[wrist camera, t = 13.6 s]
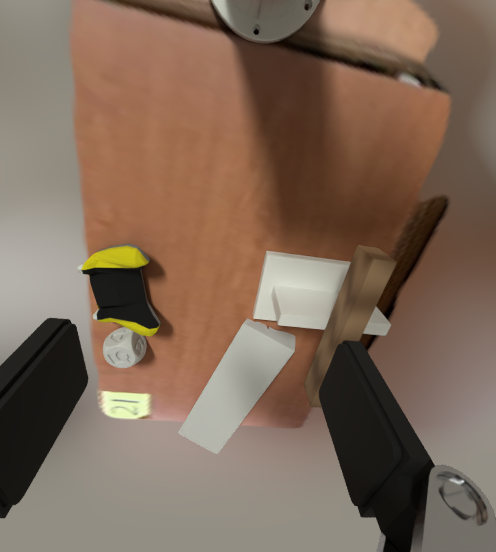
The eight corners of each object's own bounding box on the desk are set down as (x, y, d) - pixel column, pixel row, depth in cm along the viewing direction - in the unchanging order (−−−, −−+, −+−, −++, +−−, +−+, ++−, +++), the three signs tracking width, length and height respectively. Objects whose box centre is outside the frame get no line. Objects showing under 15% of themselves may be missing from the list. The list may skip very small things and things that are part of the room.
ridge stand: (266, 250, 40) (274, 279, 32) (386, 266, 42) (421, 296, 34) (252, 313, 46) (257, 350, 38) (359, 324, 48) (384, 361, 40)
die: (111, 329, 46) (98, 350, 41) (137, 323, 45) (127, 343, 41) (124, 349, 48) (113, 371, 44) (149, 343, 48) (141, 364, 43)
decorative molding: (186, 415, 63) (223, 434, 63) (177, 433, 58) (217, 454, 58) (248, 309, 49) (295, 335, 49) (243, 323, 44) (294, 351, 44)
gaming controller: (154, 237, 38) (84, 237, 38) (143, 252, 33) (62, 252, 33) (167, 318, 45) (108, 319, 45) (159, 340, 41) (93, 341, 40)
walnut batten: (357, 244, 30) (373, 259, 27) (378, 247, 31) (396, 262, 27) (303, 383, 42) (310, 406, 38) (319, 384, 42) (327, 407, 38)
